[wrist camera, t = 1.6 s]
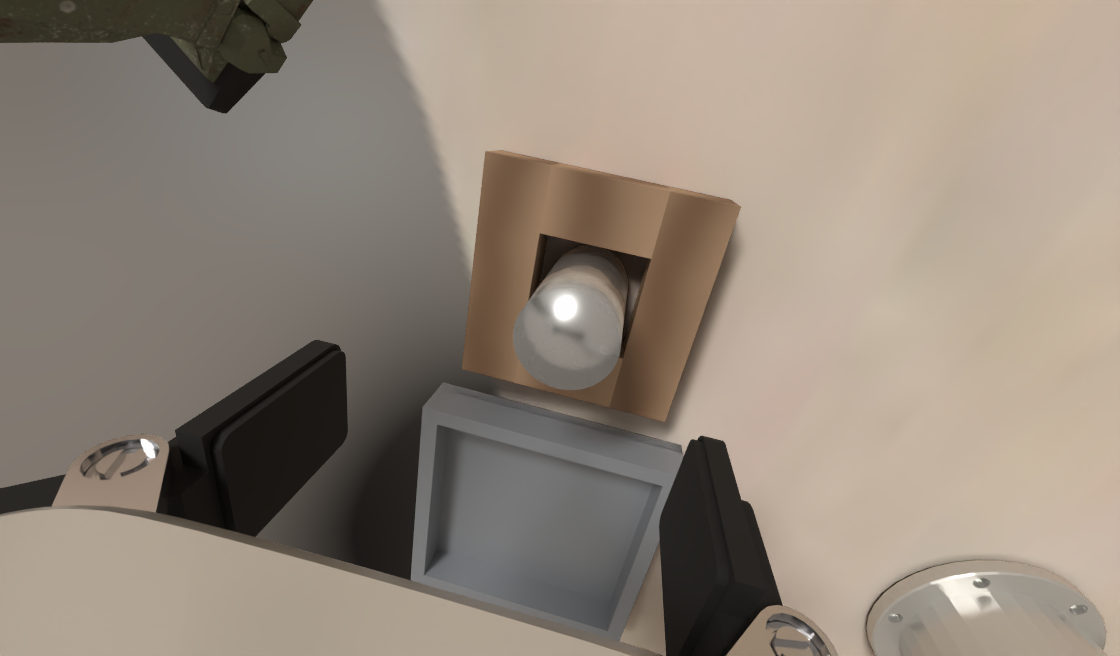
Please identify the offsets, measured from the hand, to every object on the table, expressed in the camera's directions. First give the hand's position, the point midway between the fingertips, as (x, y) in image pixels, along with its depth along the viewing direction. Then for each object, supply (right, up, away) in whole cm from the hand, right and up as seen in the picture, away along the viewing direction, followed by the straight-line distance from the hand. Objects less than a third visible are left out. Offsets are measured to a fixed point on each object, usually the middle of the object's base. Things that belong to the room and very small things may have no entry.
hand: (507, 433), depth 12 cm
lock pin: (+3, +5, +13) cm, 15 cm away
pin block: (+3, +5, +13) cm, 15 cm away
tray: (0, -10, +20) cm, 23 cm away
